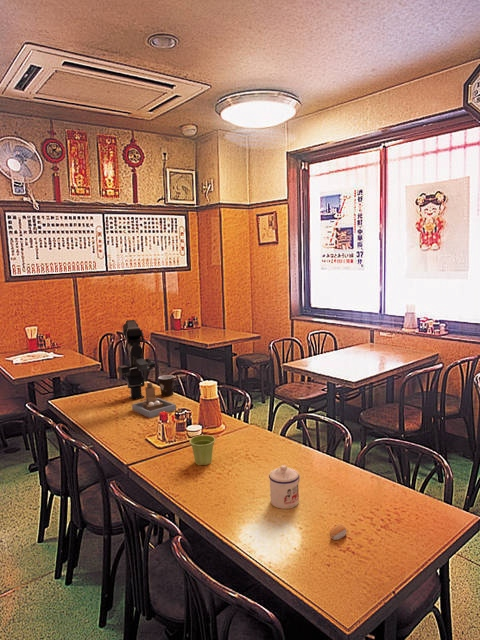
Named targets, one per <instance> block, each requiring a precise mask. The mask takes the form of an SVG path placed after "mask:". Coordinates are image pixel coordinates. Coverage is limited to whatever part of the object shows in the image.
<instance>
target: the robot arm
mask: <svg viewBox="0 0 480 640" xmlns="http://www.w3.org/2000/svg"><path fill="white" fill-rule="evenodd" d="M122 335H123V336H124V340H125V341H126V343H127V345H128V358H129V362H128V364H129V365H128V366H127V365H124V364H123V365H119V366H118V365H117V368H116V372H117V373H119V374H120V375H122V376H123V378H124V379H125V381H126V383H127V384H126V385H127V388H128V389H130V396H128V398H129V399H131V400H133V401H135V400H140V399H143V398H145V396H144V395H142V387H146V384H145V382H146V383H147V382H148V378H149V375H150V372H151V371H152V370H153V369H154V368H156V361H154V360H152V359H151V358H149V357H148V358H145V359H144V356H143V353H144V352H143V351H144V349H143V347H142V346H141V345H142V344H141V343H144V340H145V337H144V332H143V330H142V329H141V328H140V327H139V324H138V323H137V321H136V320H135V319H130V320H125V323H124V324H123V325H122ZM142 371H143V375H142Z"/></svg>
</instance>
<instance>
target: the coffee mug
mask: <svg viewBox="0 0 480 640" xmlns="http://www.w3.org/2000/svg"><path fill="white" fill-rule="evenodd" d="M157 378H158V384H159V389H160V393H161V397H172V396H174V390H175V389H176V388H177V387H178V383H177V381H176V380H175V375H173V374H166V375H160V376H158V377H157ZM174 385H175V386H174Z"/></svg>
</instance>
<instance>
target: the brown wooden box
mask: <svg viewBox="0 0 480 640" xmlns="http://www.w3.org/2000/svg"><path fill="white" fill-rule="evenodd" d="M144 387H145V388H144V389H145V401H146V403H147V404H146V403H144V401H141V402H142V403H143V408H144V409H146V410H149V411H152V410H156V409H159V408H163V403H161V402H160V401H159V402H160V404H158V405H153V406H149V405H148V404H149V403H150V402H153V403H154V402H155V401H158V400H156V399H155V398H156V388H155V386H153V382H148V383H147V382H146V386H144Z"/></svg>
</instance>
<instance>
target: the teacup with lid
mask: <svg viewBox="0 0 480 640" xmlns="http://www.w3.org/2000/svg"><path fill="white" fill-rule="evenodd" d="M268 478H269V489H270V492H269V493H270V503H271V505H272V506H273V507H275V508H277V509H281V510H282V509H283V510H286V509H287V510H288V509H289V510H290V509H292V508H295V507H296V506H298V504H299V502H300V495H299V493H300V492H299V489H300V488H299V483H300V479H301V478H300V473H298V471H297V470H295V469H294V468H291V467H287V465H285V464H282V465H280V467H277V468H275V469H272V470H271V471H270V472H269V475H268Z"/></svg>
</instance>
